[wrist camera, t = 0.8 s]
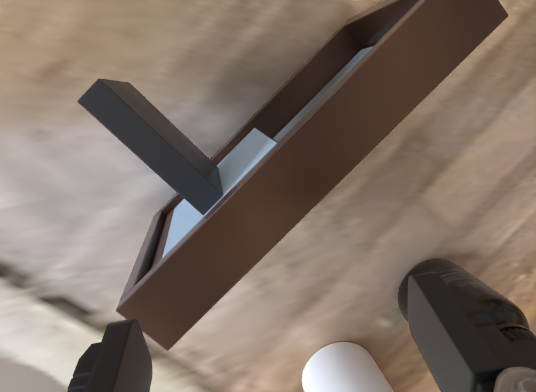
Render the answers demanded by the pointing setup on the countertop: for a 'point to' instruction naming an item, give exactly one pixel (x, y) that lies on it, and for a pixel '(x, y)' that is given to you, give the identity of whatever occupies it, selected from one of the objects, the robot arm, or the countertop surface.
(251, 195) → the window frame
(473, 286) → the supplement bottle
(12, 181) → the countertop surface
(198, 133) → the countertop surface
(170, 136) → the window pane
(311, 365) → the cylindrical container
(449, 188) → the countertop surface
